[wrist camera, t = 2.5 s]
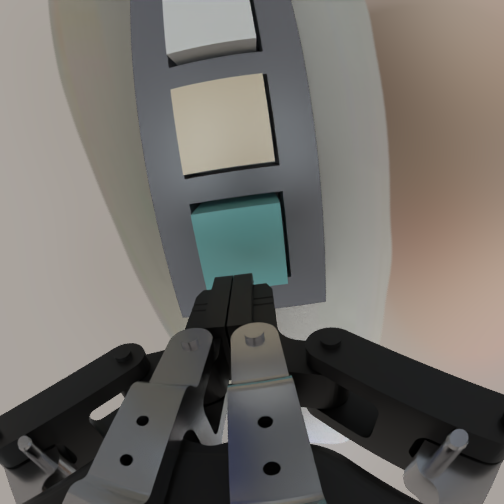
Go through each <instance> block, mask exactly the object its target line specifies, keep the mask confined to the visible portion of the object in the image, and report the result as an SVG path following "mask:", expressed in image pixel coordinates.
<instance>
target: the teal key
mask: <svg viewBox="0 0 504 504" xmlns="http://www.w3.org/2000/svg"><path fill="white" fill-rule="evenodd" d="M191 220H192V225H193V230H194V234H195V239H196V244H197V249H198V253H199V258H200V262H201V267H202V271H203V276H204V280H205V284H206V289H207V290H210V289H212V286H213V282H214V278H215V277H221V276H230V275H233V276H234V275H238V274H247V273H252V275H253V281H254V285H255V284H263V283H267V284H268V285H269V286H274V285H282V284H288V277H287V266H286V256H285V245H284V236H283V226H282V217H281V208H280V202H279V200H278V198H277V196H276V194H275V192H271V193H263V194H255V195H248V196H240V197H233V198H226V199H220V200H213V201H207V202H202V203H201V204H200V205H199V206H198V207H197V208H196V209H195V211H194V212H193V213H192V214H191Z"/></svg>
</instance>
